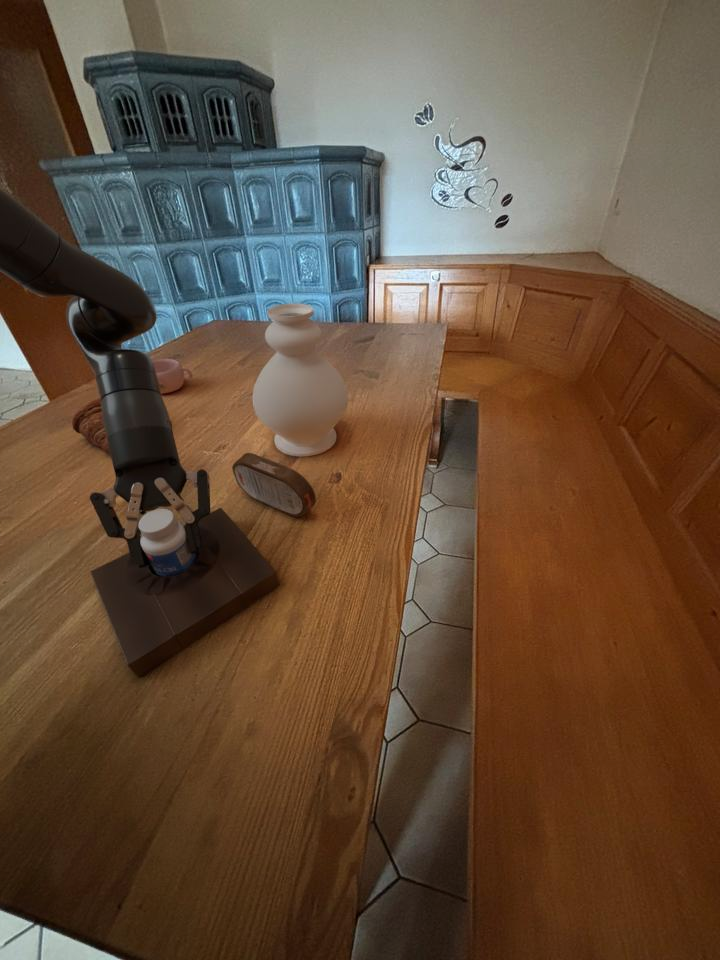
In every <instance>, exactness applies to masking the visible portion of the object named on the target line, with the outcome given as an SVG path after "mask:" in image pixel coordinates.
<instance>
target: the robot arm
mask: <svg viewBox="0 0 720 960" xmlns="http://www.w3.org/2000/svg"><path fill="white" fill-rule="evenodd" d="M0 273H2V274H3V275H5V276H6V277H8V278H9V279H10V280H12V281H14V282H16V283H17V284H18V285H20V286H21V287H23V288H24V289H26V290H27V291H29V292H31V293H32V294H35V295H37V296H38V297H42V298H46V299H55V298H61V297H71V298H70V299H69V301H68V303H67V304H66V309H65V319H66V324H67V327H68V329H69V331H70V334H71V335H72V337H73V338H74V340H75V342H76V343H77V345H78V347H79V349H80V351H81V352H82V354H83V356H84V358H85V360H86V361H87V363H88V364H89V366H90V368H91V370H92V371H93V374H94V379H95V382H96V387H97V392H98V396H99V398H100V400H101V406H102V419H103V424H104V428H105V433H106V437H107V441H108V446H109V450H110V454H109V455H110V458H111V462H112V467H113V471H114V475H115V481H114V484H113V487H112V488H109V489H107V490H104V491H102V492H96V491H95V492H92V493H91V494H90V495H89V500H90V502H91V504H92V507H93V508H94V511H95V513H96V515H97V517H98V519H99V521H100V523H101V526H102V528H103V529H104V532H105V534H106V536H107V537H108V538H111V539H112V538H113V539H114V538H115V539H123V540H125V541H126V543H127V548H128V553H129V552H130V556H131V561H132V562H133V564H134V565H135V564H138V566H139V568H143V567H146V566H149V560H148V558H147V556H146V554H145V552H144V551H143V549H142V547H141V544H140V538H141V535H142V534H141V531H140V529H139V526H138V524H139V521H140V519H141V518H142V517H143V516H144V515H146V514H147V513H148V512H151V511H153V510H157V509H160V508H168V507H172V508H173V509H174V510H175V511H176V512H177V513H178V514H179V515H180V517H181V518H182V519H183V521H184V523H185V525H186V526H184V527H185V531H186V535H187V539H188V543H189V547H190V551H191V554H194V553H198V552H199V548H198V547H202V543H203V542H202V538H201V534H200V530H199V526H198V522H199V520H200V519H202V518H203V517H205V516H207V515H209V514H210V513H211V489H210V485H211V484H210V474H209V473H208V472H207V471H206V470H205V469H203V468H201V469H199V470H198V471H186V470H185V469H184V468H183V466H182V464H181V460H180V455H179V452H178V448H177V443H176V440H175V435H174V432H173V423H172V421H171V419H170V414H169V412H168V409H167V407H166V404H165V402H164V399H163V395H162V394H163V393H161V390H160V386H159V382H158V378H157V374H156V370H155V367H154V364H153V362H152V361H153V360H152V359H151V357H150V356H148V354H146V353H144V352H142V351H140V350H135V349H130V348H129V349H128V348H123V347H122V344H123V343H125V342H128V341H129V340H132V339H134V338H137V337H139V336H141V335H143V334H145V333H147V332H149V331H150V330H152V329H153V327H154V326H155V325H156V322H157V310H156V307H155V304H154V302H153V300H152V298H151V296H150V295H149V294H148V293H147V291H146V289H144V288H143V287H142V285H140V284H139V283H138V282H137V281H135V280H134V279H133V278H131V277H130V276H128V275H127V274H125V273H124V272H122V271H121V270H119V269H117V268H115V267H113V266H111V265H109V264H108V263H106V262H104V261H102V260H100V259H99V258H97V257H95V256H93V255H92V254H90V253H88V252H86V251H85V250H83V249H80V248H78V247H77V246H74V245H73V244H71V243H69V242H68V241H67V240H65V238H63V237H62V236H61V235H60V234H58V233H57V232H56V231H55V230H54V229H53V228H52V227H50V226H49V225H48V224H47V223H46V222H45V221H43V220H42V219H41V218H39V217H38V216H37V215H36V214H35V213H34V212H32V211H31V210H30V209H29V208H27V206H26V205H24V204H23V203H21V201H19V200H18V199H17V198H15V197H14V196H13V195H11V194H10V193H9V192H7V191H5V189H3V188H2V187H0ZM188 480H189V481H190V483H191V485H192V486H193V487H194V488H196V490H197V508H196V509H195V510H193V509H192V508H191V507H190V505H189V504H188V502H186V500H185V499H184V498H183V496H182V495H181V494H182V492H183V490H184V488H185V485H186V484H187V481H188ZM118 496H119V497H120V498H121V499H123V500H124V501H125V502H126V503H128V507H127V512H126V523H125V527H123V525H122V523H121V521H120V518H119V516H118V514H117V512H116V510H115V508H114V507H115V506H116V504H117V497H118Z"/></svg>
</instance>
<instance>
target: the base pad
mask: <svg viewBox="0 0 720 960" xmlns="http://www.w3.org/2000/svg"><path fill="white" fill-rule="evenodd" d="M183 525H184V526H186V524H183ZM198 526H199V530H200V534H201V538H202V542H203V543H202V547H198V548H199V552H198V553H197V556H198V558H197V560H196V562H195V563H194V564H193V565H192V566H191V567H190V568H189V569H188V570H186V571H185V572H183V573H181V574H179V575H176V576H172V577H158V576H157V574H156V572H155V570H154V569H153V567H152V565H151V563H150V561H149V566H146V567H143V568H139V566H138V564H135V565H134V564H133V562H132V561H131V556H130V552H129V551H128V552H127V553H125V554H123V555H121V556H119V557H117V558H115V559H113V560H110V561H109V562H106V563H105V564H103V565H100V566H98V567H96V568H94V569H92V570H90V574H91V577H92V580H93V583H94V585H95V587H96V589H97V592H98V594H99V597H100V600H101V602H102V605H103V608H104V610H105V612H106V615H107V617H108V620H109V623H110V626H111V627H112V631H113V632H114V635H115V637H116V640H117V643H118V645H119V648H120V650H121V653H122V655H123V657H124V661H125V663H126V666H127V667H128V668H129V669H130V670H131V671H132V672H133V674H134V675H135V676H136V678H140V677H142V676H144V675H145V674H146V673H148V672H150V671H151V670H153V669H154V668H155V667H156V668H157V666H159V665H161V663H164V662H165V661H166V660H168V659H170V658H171V657H173V656H174V655H176V654H177V653H179V652H180V651H182V650H183V649H185V648H186V647H187V646H190V645H191V644H193V643H194V642H196V641H197V640H199V639H200V638H202V637H203V636H205V635H206V634H208V633H209V632H211V631H212V630H214V629H216V628H217V627H219V626H220V625H222V624H224V622H227V620H228V621H229V620H230V619H231V618H233V617H234V616H236V615H237V614H239V613H240V612H241V611H243V610H244V609H246V608H247V607H249V606H251V605H252V604H254V603H256V602H257V601H258V600H259V599H261V598H263V597H264V596H266V595H267V594H269V593H270V592H272V591H273V590H275V589H276V588H278V587H280V581H279V577H278V572H277V570H276V569H275V568H274V567H273V566H272V565H271V563H270V562H269V561H268V560H267V559H266V558H265V557H264V556H263V554H262V553H261V552H260V550H258V548H256V546H255V544H253V543H252V542H251V540H250V539H249V538H248V537H247V536H246V535H245V534H244V532H243V531H242V530H241V529H240V528H239V527H238V525H237V524H236V523H235V522H234V520H232V519H231V517H230V516H229V515H228V514H227V513H226V511H225V510H224V509H223V508H222V507H219V508H217V509H214V510H213V511H210V514H209V515H207V516H205V517H203V518H202V519H200V520H199V522H198Z"/></svg>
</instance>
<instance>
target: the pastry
mask: <svg viewBox="0 0 720 960" xmlns="http://www.w3.org/2000/svg"><path fill="white" fill-rule="evenodd" d="M71 425H72V429H73V430H74V431H75V433H77V434H80V435H81V436H83V437H84V438H85V439H86V440H87V441H88V442H89V444H91V445H94V446H96V447H98V448H100V449H102V450H103V452H105V453H106V454H108V455H111V454H110V450H109V446H108V441H107V437H106V433H105V428H104V424H103V419H102V406H101V400H100V397H98V398H96V399H93V400H91V401H89V402H88V403H87V404H86V405H83V406H81V408H79V410H78V411H76V413H75V414H74V415H73V418H72V421H71Z"/></svg>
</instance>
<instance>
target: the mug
mask: <svg viewBox="0 0 720 960" xmlns="http://www.w3.org/2000/svg"><path fill="white" fill-rule="evenodd" d="M152 362H153V364H154V367H155V370H156V374H157V378H158V382H159V386H160V390H161V394H168V393H172V392H175V391H178V390H179V389H181V388H182V386H183V385H184V382H185V381H187V382H188V381H191V380H192V379H193V373H192V371H191V369H189V368H188V367H183V366H182V364H181V362H180V361H178V360H176V359H173V358H172V359H171V358H161V359H155V360H152ZM185 372H187V373H188V377H186V376H185Z"/></svg>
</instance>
